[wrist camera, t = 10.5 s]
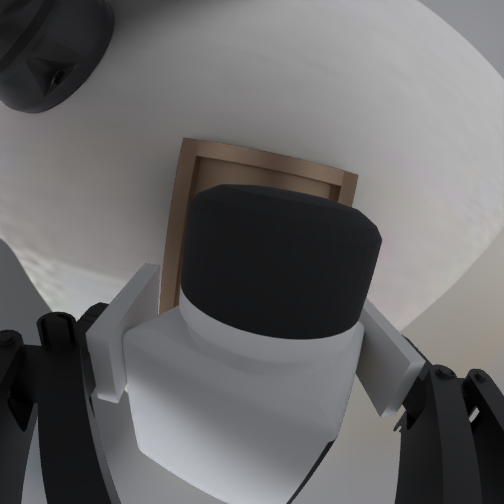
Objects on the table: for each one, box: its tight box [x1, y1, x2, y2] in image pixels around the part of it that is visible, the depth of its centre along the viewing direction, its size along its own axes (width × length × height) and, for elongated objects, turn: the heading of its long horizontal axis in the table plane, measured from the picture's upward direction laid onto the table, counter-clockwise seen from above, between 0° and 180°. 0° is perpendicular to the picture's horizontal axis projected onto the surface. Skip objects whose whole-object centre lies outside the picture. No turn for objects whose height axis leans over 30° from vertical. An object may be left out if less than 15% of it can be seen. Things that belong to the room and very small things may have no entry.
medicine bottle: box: [122, 184, 382, 504], centre depth 10 cm, size 7×7×12 cm
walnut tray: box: [159, 138, 358, 315], centre depth 23 cm, size 13×18×3 cm
